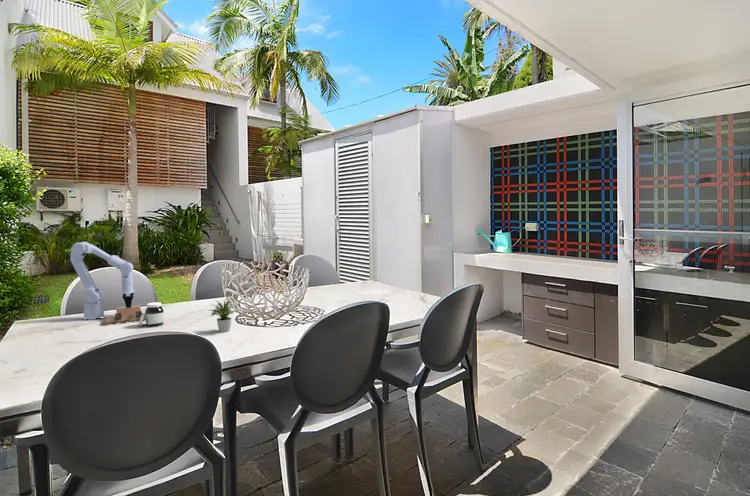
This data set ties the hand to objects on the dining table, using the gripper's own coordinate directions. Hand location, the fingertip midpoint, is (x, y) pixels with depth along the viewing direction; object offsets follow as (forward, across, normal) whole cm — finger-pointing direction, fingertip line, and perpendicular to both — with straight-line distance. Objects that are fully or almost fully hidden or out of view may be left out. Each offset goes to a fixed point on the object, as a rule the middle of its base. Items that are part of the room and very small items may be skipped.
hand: (128, 306), depth 246 cm
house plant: (+6, -60, -42) cm, 73 cm away
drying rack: (+6, -12, 0) cm, 13 cm away
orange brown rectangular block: (+6, 0, 0) cm, 6 cm away
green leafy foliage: (+7, -6, -54) cm, 55 cm away
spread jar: (+6, -30, -10) cm, 32 cm away
